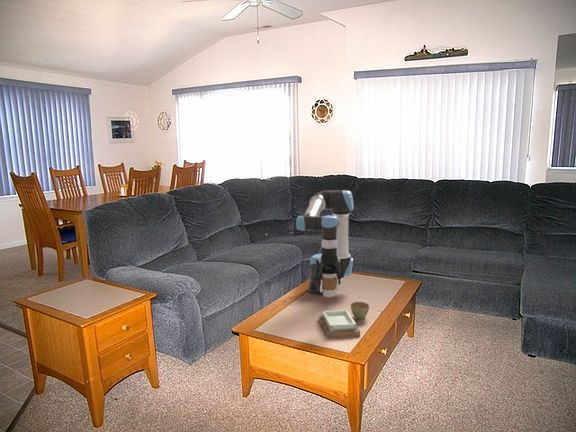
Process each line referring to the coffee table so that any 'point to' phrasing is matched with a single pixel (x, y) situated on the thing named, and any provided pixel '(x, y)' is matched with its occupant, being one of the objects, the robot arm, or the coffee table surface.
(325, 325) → the shelf board
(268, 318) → the coffee table surface
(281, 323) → the coffee table surface
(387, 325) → the coffee table surface
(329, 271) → the coffee cup
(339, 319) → the tray
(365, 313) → the flower pot
